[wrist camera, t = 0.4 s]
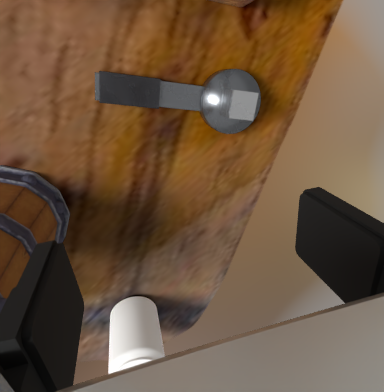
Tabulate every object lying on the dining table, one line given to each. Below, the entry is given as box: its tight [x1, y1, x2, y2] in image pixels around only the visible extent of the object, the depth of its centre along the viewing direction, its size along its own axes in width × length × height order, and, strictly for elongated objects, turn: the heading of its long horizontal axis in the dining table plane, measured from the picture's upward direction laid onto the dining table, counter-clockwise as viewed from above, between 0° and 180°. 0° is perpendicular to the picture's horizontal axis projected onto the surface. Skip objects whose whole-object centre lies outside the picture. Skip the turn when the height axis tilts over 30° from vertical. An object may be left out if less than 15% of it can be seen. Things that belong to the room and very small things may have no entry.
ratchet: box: [95, 69, 261, 134], centre depth 33 cm, size 8×21×6 cm, turn 82°
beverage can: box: [109, 296, 165, 374], centre depth 44 cm, size 8×8×12 cm
